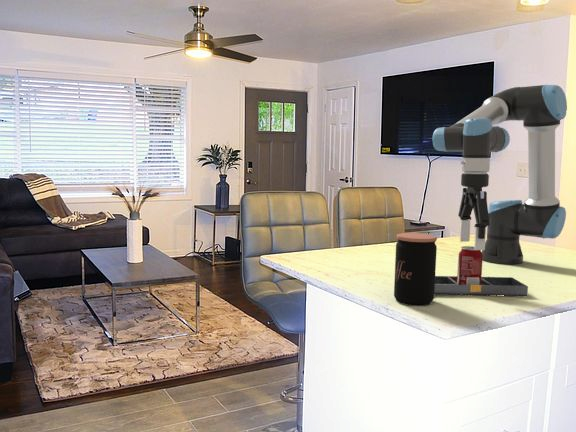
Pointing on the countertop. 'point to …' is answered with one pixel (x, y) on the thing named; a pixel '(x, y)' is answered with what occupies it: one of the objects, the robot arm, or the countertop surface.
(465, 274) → the soda can
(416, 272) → the coffee jar
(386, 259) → the countertop surface
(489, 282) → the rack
